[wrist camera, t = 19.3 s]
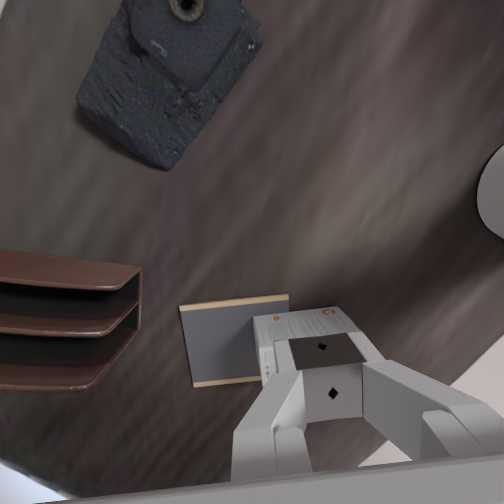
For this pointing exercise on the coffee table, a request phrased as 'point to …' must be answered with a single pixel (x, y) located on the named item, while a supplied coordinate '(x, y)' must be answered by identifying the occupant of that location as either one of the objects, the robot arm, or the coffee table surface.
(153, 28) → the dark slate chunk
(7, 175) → the coffee table surface
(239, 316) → the mat
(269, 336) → the small box
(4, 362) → the letter holder
